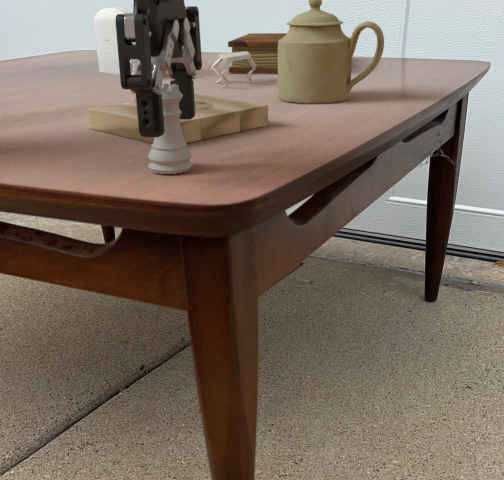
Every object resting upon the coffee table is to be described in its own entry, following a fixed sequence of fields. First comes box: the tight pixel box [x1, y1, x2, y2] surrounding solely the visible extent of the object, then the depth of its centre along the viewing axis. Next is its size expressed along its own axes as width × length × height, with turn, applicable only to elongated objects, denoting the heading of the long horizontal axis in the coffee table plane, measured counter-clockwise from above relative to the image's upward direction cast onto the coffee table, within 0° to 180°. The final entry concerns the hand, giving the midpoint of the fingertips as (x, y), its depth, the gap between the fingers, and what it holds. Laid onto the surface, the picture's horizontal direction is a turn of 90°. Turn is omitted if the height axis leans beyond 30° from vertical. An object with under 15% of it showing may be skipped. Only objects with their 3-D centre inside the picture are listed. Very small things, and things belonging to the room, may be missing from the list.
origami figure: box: [210, 51, 257, 89], centre depth 119 cm, size 12×8×5 cm
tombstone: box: [93, 6, 133, 76], centre depth 129 cm, size 10×4×12 cm, turn 44°
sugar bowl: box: [277, 0, 385, 105], centre depth 102 cm, size 15×11×15 cm
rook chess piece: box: [147, 83, 194, 175], centre depth 66 cm, size 4×4×8 cm
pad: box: [87, 93, 269, 144], centre depth 87 cm, size 16×16×2 cm
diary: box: [227, 32, 287, 74], centre depth 141 cm, size 23×19×6 cm
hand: (168, 127), depth 66 cm, fingers open, 8 cm apart
